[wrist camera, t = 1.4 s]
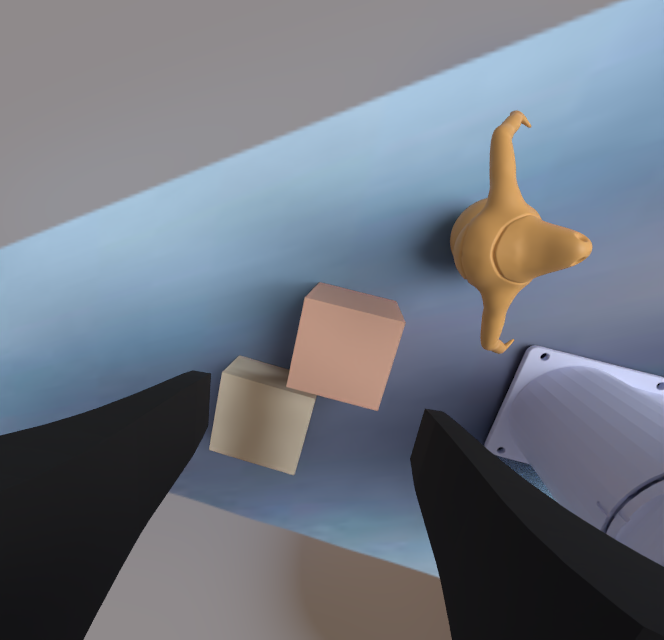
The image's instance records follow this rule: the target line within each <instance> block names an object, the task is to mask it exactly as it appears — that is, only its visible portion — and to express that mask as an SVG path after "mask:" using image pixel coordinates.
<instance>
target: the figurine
mask: <svg viewBox="0 0 664 640" xmlns="http://www.w3.org/2000/svg"><path fill="white" fill-rule="evenodd" d="M521 123H522V124H524V125H525V126H527V127H529V128H530V127H531V124H530V123H529V122H528V120H527V118H526V117H525V116H524V114H523V113H522V112H520V111H512V112H511V113H510V116H509V117H507V118H506V120H505V121H504V122H503V123H502V124H501V125H500V126H498V127H497V128H496V129H495V131H494V132H493V135H492V139H491V146H490V191H489V195H488V198H486V199H483V200H480V201H478V202H476V203H474V204H472V205H471V206H469V207H468V208H467V209H466V210H464V211H463V212H462V213H461V215H460V216H459V217H458V219H457V220H456V222H455V224H454V226H453V228H452V231H451V236H450V246H451V251H452V254H453V256H454V262H455V265H456V268H457V270H458V271H459V273H460V274H461V276H462V277H463V278H464V279H467V280H468V282H469V283H470V284H471V285H473V286H474V287H476V288H477V289H478V290H479V291H480V293H481V295H482V299H483V305H484V309H483V315H482V324H481V345H482V347H483V348H484V349H485V350H491V351H493V352H495V353H498V354H500V353H503V352H504V351H505V350H506V349H507V348H508V347H509V346H510V345H511V344H512V342H513V341H514V339H512V340H510V341H508V342H507V343H505V344H504V343H503V342H502V341H501V340H499V337H500V334H501V331H502V328H503V325H504V322H505V316H506V312H507V309H508V308H509V306H510V304H511V302H512V301H513V299H514V297H515V296H516V295H517V293H518V292H519V291H520V290H522V289H523V288H524V287H525V286H526V285H528V284H529V283H530V282H531V281H532V279H533V278H536V277H538V276H541V275H544V274H547V273H551V272H555V271H558V270H562V269H565V268H569V267H571V266H574V265H576V264H578V263H580V262H582V261H583V260H585V259H586V258H587V257H588V256H589V255H590V253H591V251H592V243H591V241H590V240H589V239H588V238H587V237H586V236H585V235H583V234H581V233H579V232H577V231H574V230H571V229H568V228H565V227H561V226H558V225H554V224H551V223H548V222H545V221H542V219H541V217H540V216H539V214H538V213H537V211H536V210H535V209H533V208H532V207H531V206H529V205H528V204H527V203H526V202H525V201H524V199H523V197H522V195H521V193H520V190H519V187H518V185H517V181H516V164H515V156H514V150H513V145H512V138H513V135H514V133H516V131H517V130H518V129H519V127H520V125H521Z"/></svg>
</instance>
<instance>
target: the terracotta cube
mask: <svg viewBox="0 0 664 640" xmlns="http://www.w3.org/2000/svg"><path fill="white" fill-rule="evenodd" d="M404 326H405V320H404V318H403V316H402V313H401V311H400V309H399V307H398V304H397V302H396V301H393V300H389V299H385V298H381V297H377V296H373V295H369V294H365V293H361V292H357V291H353V290H349V289H345V288H341V287H337V286H333V285H329V284H325V283H321V282H319V283H318V284H317V285H316V286H315V287H314V288H313V289H312V291H311V292H310V293H309V294H308V295H307V296H306V297H305V299H304V304H303V309H302V314H301V318H300V323H299V328H298V333H297V338H296V342H295V347H294V352H293V357H292V361H291V366H290V371H289V376H288V380H287V385H286V387H289V388H292V389H296V390H300V391H304V392H308V393H311V394H315V395H319V396H323V397H326V398H330V399H334V400H338V401H342V402H345V403H349V404H353V405H357V406H361V407H364V408H368V409H372V410H376V411H378V409H379V405H380V402H381V399H382V396H383V393H384V390H385V386H386V383H387V380H388V377H389V374H390V370H391V367H392V364H393V361H394V358H395V355H396V351H397V348H398V345H399V342H400V339H401V335H402V332H403V329H404Z"/></svg>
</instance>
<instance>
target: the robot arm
mask: <svg viewBox="0 0 664 640" xmlns="http://www.w3.org/2000/svg"><path fill="white" fill-rule="evenodd" d="M543 353H546V356H545V357H544V358H540V357H541V355H542V354H543ZM210 382H211V373H205V372H198V371H190V372H187V373H184V374H181V375H179V376H176V377H174V378H172V379H169V380H167V381H165V382H162V383H160V384H157V385H155V386H153V387H150V388H148V389H146V390H143V391H141V392H138V393H136V394H133V395H131V396H128V397H126V398H123V399H120V400H118V401H115V402H112V403H110V404H107V405H104V406H102V407H99V408H96V409H93V410H91V411H88V412H85V413H82V414H78V415H75V416H72V417H69V418H65V419H62V420H59V421H55V422H52V423H49V424H45V425H41V426H37V427H33V428H29V429H25V430H21V431H17V432H13V433H9V434H5V435H1V436H0V640H83V639H84V637H85V635H86V633H87V631H88V629H89V628H90V626H91V624H92V622H93V620H94V618H95V616H96V614H97V612H98V610H99V608H100V607H101V605H102V603H103V601H104V599H105V597H106V596H107V593H108V591H109V590H110V588H111V586H112V584H113V582H114V580H115V579H116V577H117V575H118V573H119V571H120V569H121V567H122V566H123V564H124V562H125V561H126V559H127V557H128V555H129V553H130V551H131V550H132V548H133V546H134V544H135V543H136V541H137V539H138V537H139V536H140V534H141V532H142V530H143V529H144V527H145V526H146V524H147V523H148V521H149V520H150V518H151V517H152V515H153V513H154V512H155V511H156V509H157V508H158V506H159V505H160V503H161V502H162V500H163V499H164V498H165V496H166V495H167V493H168V492H169V490H170V489H171V487H172V486H173V484H174V483H175V481H176V480H177V478H178V477H179V476H180V474H181V473H182V471H183V470H184V468H185V467H186V465H187V464H188V462H189V461H190V459H191V458H192V456H193V455H194V453H195V451H196V449H197V447H198V445H199V443H200V441H201V439H202V437H203V435H204V433H205V431H206V429H207V427H208V419H209V400H210ZM658 383H660V385H659V386H657V384H658ZM656 386H657V387H656ZM484 446H485V447H484ZM484 446H483V445H482V444H481V443H480V442H479V441H478V440H476V439H475V438H474V437H473V436H472V435H471V434H469V433H468V432H467V431H466V430H465V429H464V428H463V427H461V426H460V425H459V424H458V423H457V422H456V421H454V420H453V419H452V418H451V417H450V416H448V415H447V414H446V413H444V412H442V411H436V410H430V409H425V410H424V414H423V417H422V420H421V424H420V427H419V431H418V434H417V437H416V441H415V444H414V448H413V451H412V454H411V458H410V460H411V467H412V474H413V480H414V486H415V491H416V495H417V498H418V502H419V505H420V509H421V512H422V516H423V519H424V523H425V526H426V530H427V533H428V537H429V540H430V543H431V547H432V550H433V554H434V557H435V561H436V564H437V568H438V572H439V576H440V580H441V585H442V590H443V595H444V600H445V605H446V610H447V615H448V620H449V625H450V631H451V637H452V640H664V377H661V376H657V375H653V374H649V373H645V372H641V371H637V370H633V369H629V368H625V367H621V366H617V365H613V364H609V363H605V362H601V361H597V360H593V359H589V358H585V357H581V356H577V355H573V354H569V353H565V352H561V351H557V350H553V349H549V348H545V347H541V346H537V345H533V346H530V347H529V348H528V349H527V350H526V352H525V354H524V356H523V358H522V361H521V363H520V365H519V367H518V370H517V372H516V374H515V376H514V379H513V381H512V383H511V385H510V388H509V390H508V392H507V394H506V397H505V399H504V401H503V403H502V406H501V408H500V410H499V412H498V415H497V417H496V419H495V421H494V423H493V426H492V428H491V430H490V432H489V435H488V437H487V439H486V441H485V444H484ZM500 447H503V448H502V449H500V450H497V449H498V448H500ZM495 455H497V456H500V457H504V458H508V459H512V460H515V461H519V462H523V463H527V464H530V465H531V466H532V467H533V469H534V470H535V472H536V473H537V474H538V476H539V477H540V479H541V480H542V481H543V483H544V484H545V486H546V487H547V489H548V490H549V491H550V493H551V494H552V496H553V497H554V498H555V500H556V501H557V502H556V501H554V500H553V499H551V498H550V497H549V496H547V495H546V494H544V493H543V492H541V491H540V490H539V489H537V488H536V487H534V486H533V485H532V484H530V483H529V482H528V481H526V480H525V479H524V478H523V477H521V476H520V475H519V474H517V473H516V472H515V471H514V470H512V469H511V468H510V467H509V466H507V465H506V464H505V463H504V462H502V461H501V460H500V459H499V458H497V457H496V456H495Z"/></svg>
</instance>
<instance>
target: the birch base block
mask: <svg viewBox="0 0 664 640" xmlns="http://www.w3.org/2000/svg"><path fill="white" fill-rule="evenodd" d="M289 371H290V370H288V369H285V368H281V367H278V366H275V365H271V364H268V363H264V362H261V361H257V360H254V359H250V358H247V357H243V356H240V355H239V356H238V357H237V358H236V359H235V360H234V361H233V362H232V363H231V364H230V365H229V366H228V367H227V368H226V369H225V370H224V371H223V372H222V376H221V382H220V388H219V394H218V399H217V405H216V411H215V417H214V423H213V429H212V435H211V441H210V447H209V450H211V451H214V452H218V453H221V454H224V455H228V456H231V457H234V458H238V459H241V460H244V461H248V462H251V463H254V464H258V465H261V466H264V467H268V468H271V469H274V470H278V471H281V472H284V473H288V474H291V475H294V474H295V471H296V468H297V464H298V461H299V458H300V454H301V451H302V447H303V444H304V440H305V437H306V433H307V429H308V426H309V422H310V419H311V415H312V411H313V408H314V404H315V401H316V397H317V395H315V394H311V393H308V392H304V391H300V390H296V389H292V388H289V387H286V385H287V380H288V376H289Z"/></svg>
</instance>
